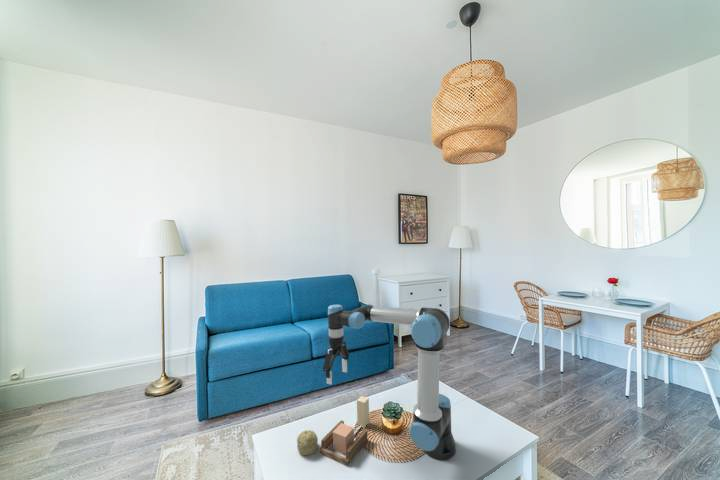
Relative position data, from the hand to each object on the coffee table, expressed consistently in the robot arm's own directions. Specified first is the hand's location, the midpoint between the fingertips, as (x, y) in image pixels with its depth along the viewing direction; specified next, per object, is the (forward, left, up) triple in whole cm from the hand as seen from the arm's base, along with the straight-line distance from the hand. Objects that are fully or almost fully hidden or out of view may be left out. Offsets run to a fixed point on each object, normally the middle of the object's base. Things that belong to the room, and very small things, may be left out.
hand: (337, 377), depth 141 cm
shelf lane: (-9, +8, -26) cm, 29 cm away
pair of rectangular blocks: (-9, +1, -26) cm, 28 cm away
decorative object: (+5, +18, -26) cm, 32 cm away
